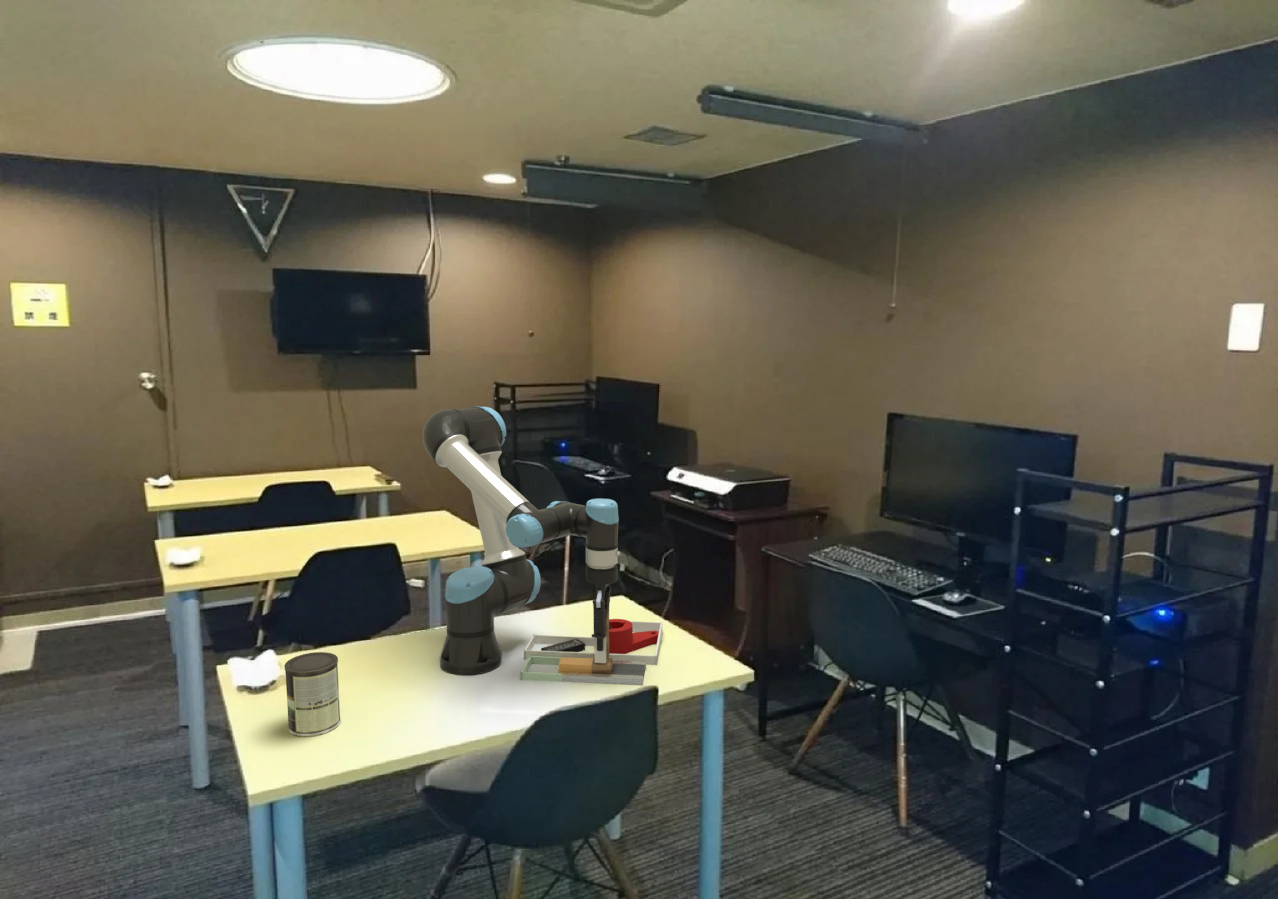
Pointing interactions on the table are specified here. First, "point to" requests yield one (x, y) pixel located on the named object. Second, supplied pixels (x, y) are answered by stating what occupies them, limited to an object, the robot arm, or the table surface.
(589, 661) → the orange block
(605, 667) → the wooden post on base
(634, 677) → the shallow gray tray
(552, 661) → the tray
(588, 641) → the organizer
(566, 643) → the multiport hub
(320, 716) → the coffee can
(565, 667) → the chip
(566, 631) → the table surface
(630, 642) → the lever
